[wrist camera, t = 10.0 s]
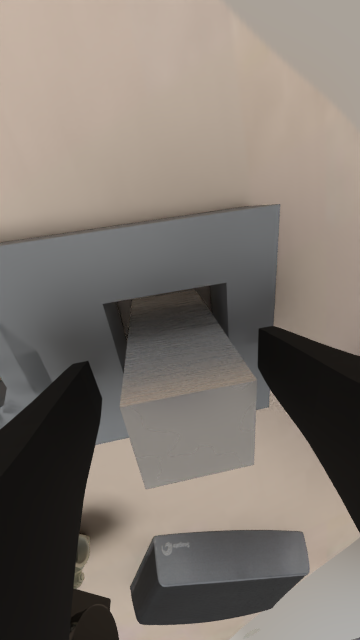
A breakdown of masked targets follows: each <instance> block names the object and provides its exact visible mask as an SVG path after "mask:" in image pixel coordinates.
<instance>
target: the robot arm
mask: <svg viewBox="0 0 360 640" xmlns="http://www.w3.org/2000/svg"><path fill="white" fill-rule="evenodd" d="M258 369H259V371H260V373H261V375H262V376H263V378H264V380H265V382H266V384H267V385H268V387H269V388H270V390H271V391H272V393H273V394H274V395H275V397H276V398H277V400H278V401H279V402H280V404H281V405H282V406H283V408H284V409H285V411H286V412H287V413H288V415H289V416H290V417H291V419H292V420H293V421H294V423H295V424H296V425H297V427H298V428H299V430H300V431H301V432H302V434H303V435H304V437H305V438H306V440H307V441H308V443H309V444H310V446H311V447H312V449H313V451H314V452H315V454H316V456H317V457H318V459H319V461H320V462H321V464H322V466H323V467H324V469H325V471H326V473H327V474H328V476H329V478H330V480H331V481H332V483H333V485H334V487H335V488H336V490H337V492H338V494H339V495H340V497H341V499H342V501H343V503H344V505H345V506H346V508H347V510H348V512H349V514H350V516H351V518H352V519H353V521H354V523H355V525H356V527H357V529H358V531H359V532H360V356H357V355H353V354H350V353H347V352H344V351H341V350H338V349H335V348H332V347H329V346H327V345H324V344H321V343H318V342H316V341H313V340H310V339H308V338H305V337H302V336H300V335H297V334H295V333H292V332H289V331H287V330H284V329H281V328H278V327H274V326H269V327H263V328H258ZM101 409H102V396H101V394H100V391H99V388H98V385H97V383H96V380H95V377H94V375H93V372H92V369H91V367H90V364H89V361H84V362H79V363H74V364H72V365H71V366H70V367H68V368H67V369H66V370H65V371H64V372H63V373H62V374H61V375H60V376H59V377H58V378H57V379H55V380H54V381H53V382H52V383H51V384H50V385H49V386H48V387H47V388H46V389H45V390H44V391H43V392H42V393H41V394H40V395H39V396H38V397H36V398H35V399H34V400H33V401H32V402H31V403H30V404H29V405H28V406H27V407H25V408H24V409H23V410H22V411H21V412H20V413H19V414H17V415H16V416H15V417H14V418H13V419H12V420H11V421H10V422H8V423H7V424H6V425H5V426H4V427H2V428H1V429H0V640H69V635H70V621H71V609H72V598H73V587H74V576H75V566H76V557H77V548H78V540H79V531H80V523H81V515H82V508H83V500H84V494H85V489H86V483H87V478H88V474H89V470H90V465H91V461H92V457H93V452H94V448H95V444H96V439H97V435H98V430H99V425H100V419H101ZM353 640H360V638H357V639H353Z"/></svg>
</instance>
